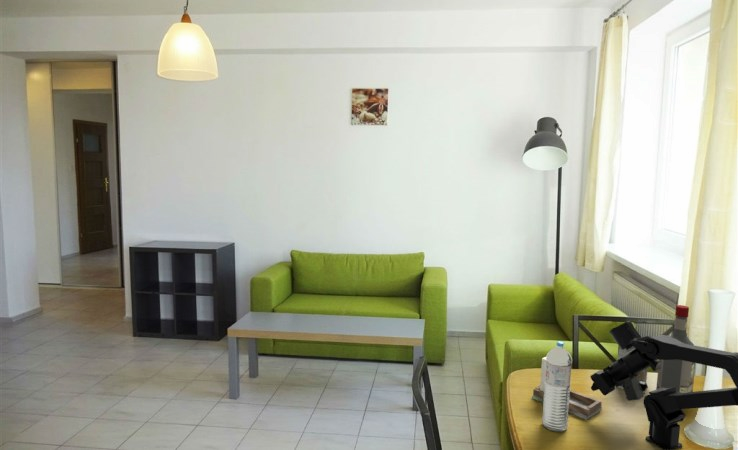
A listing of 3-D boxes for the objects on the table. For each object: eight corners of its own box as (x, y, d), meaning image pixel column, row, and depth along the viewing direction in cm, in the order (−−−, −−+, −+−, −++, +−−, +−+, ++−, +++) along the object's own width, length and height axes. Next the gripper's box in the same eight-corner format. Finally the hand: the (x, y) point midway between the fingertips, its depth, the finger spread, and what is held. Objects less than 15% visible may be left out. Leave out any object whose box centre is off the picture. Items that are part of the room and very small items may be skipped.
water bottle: (547, 418, 152) (552, 336, 149) (570, 426, 147) (576, 342, 144) (538, 427, 146) (543, 342, 143) (562, 435, 142) (568, 348, 139)
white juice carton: (566, 395, 164) (569, 356, 162) (557, 401, 160) (560, 360, 159) (549, 389, 169) (551, 350, 167) (539, 394, 165) (542, 354, 163)
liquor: (653, 394, 169) (662, 306, 165) (663, 386, 175) (671, 301, 172) (684, 404, 162) (694, 312, 159) (693, 396, 169) (703, 307, 165)
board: (601, 409, 158) (602, 400, 157) (586, 419, 151) (587, 410, 151) (547, 389, 171) (548, 380, 171) (532, 398, 164) (532, 389, 164)
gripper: (640, 399, 136) (596, 424, 145) (665, 380, 148) (623, 404, 157) (611, 362, 141) (571, 388, 150) (637, 347, 153) (598, 372, 162)
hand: (592, 389), depth 155 cm, fingers closed
